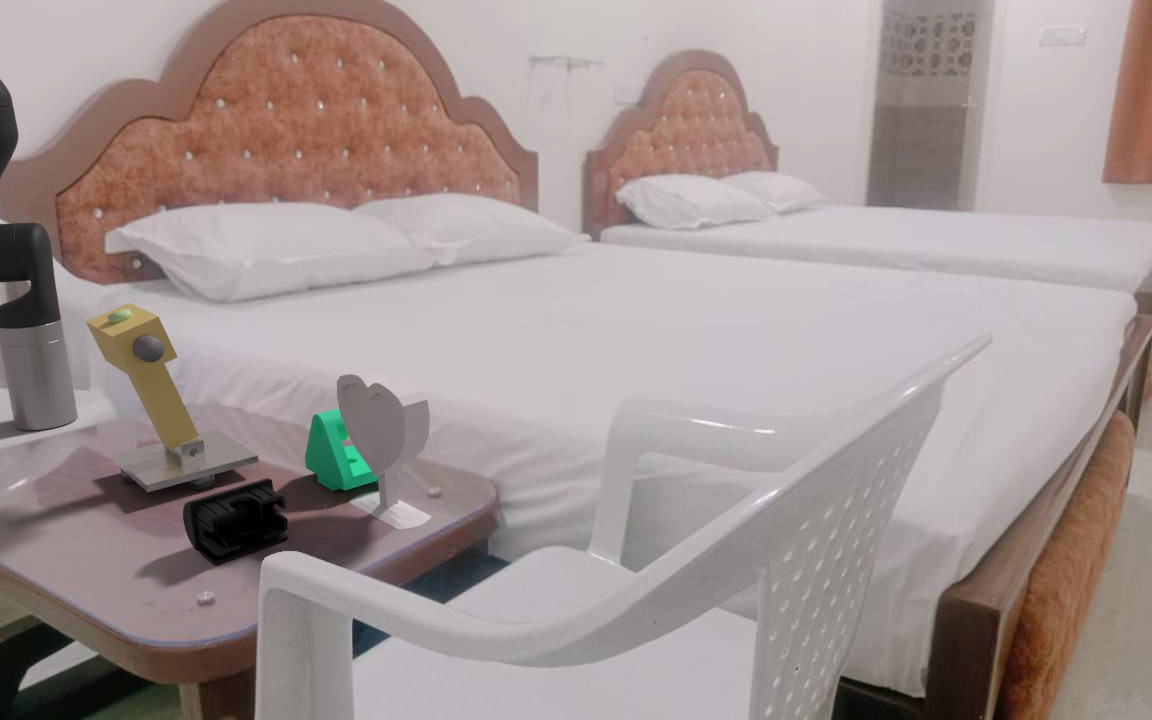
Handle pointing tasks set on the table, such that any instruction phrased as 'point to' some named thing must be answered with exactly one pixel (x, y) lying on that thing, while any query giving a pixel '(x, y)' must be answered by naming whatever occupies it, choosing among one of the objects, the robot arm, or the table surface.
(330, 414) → the camera mount
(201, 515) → the end cap
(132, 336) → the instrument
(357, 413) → the heart sculpture
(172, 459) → the grey metal base plate
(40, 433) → the table surface
